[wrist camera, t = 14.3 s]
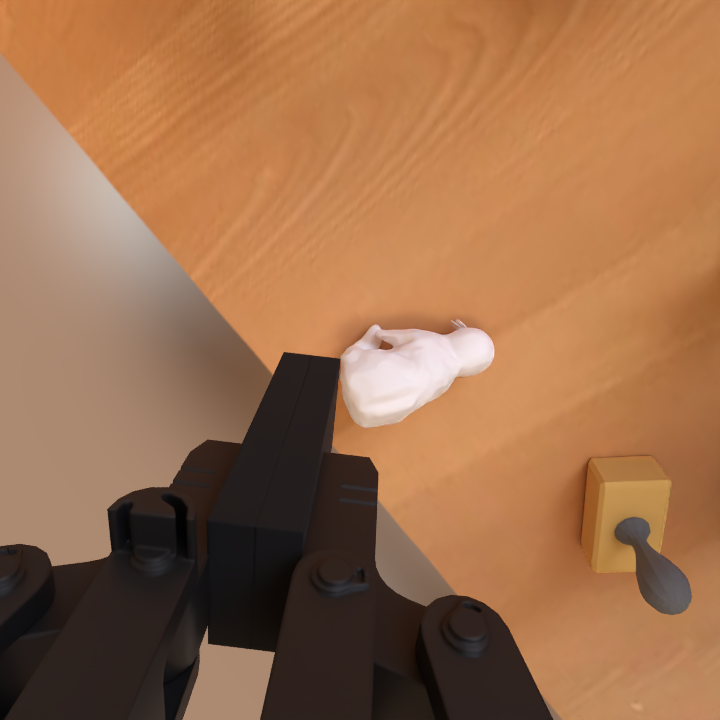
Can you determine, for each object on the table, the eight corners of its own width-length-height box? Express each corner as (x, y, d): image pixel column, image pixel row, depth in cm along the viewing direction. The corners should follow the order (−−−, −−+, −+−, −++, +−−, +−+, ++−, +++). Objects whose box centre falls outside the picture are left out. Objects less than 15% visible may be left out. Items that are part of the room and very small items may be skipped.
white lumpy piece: (331, 373, 37) (506, 331, 37) (332, 330, 45) (476, 295, 45) (354, 451, 40) (519, 412, 39) (351, 397, 48) (488, 365, 47)
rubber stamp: (642, 543, 53) (706, 655, 42) (579, 545, 53) (627, 656, 42) (655, 455, 49) (730, 554, 38) (587, 458, 49) (642, 556, 38)
